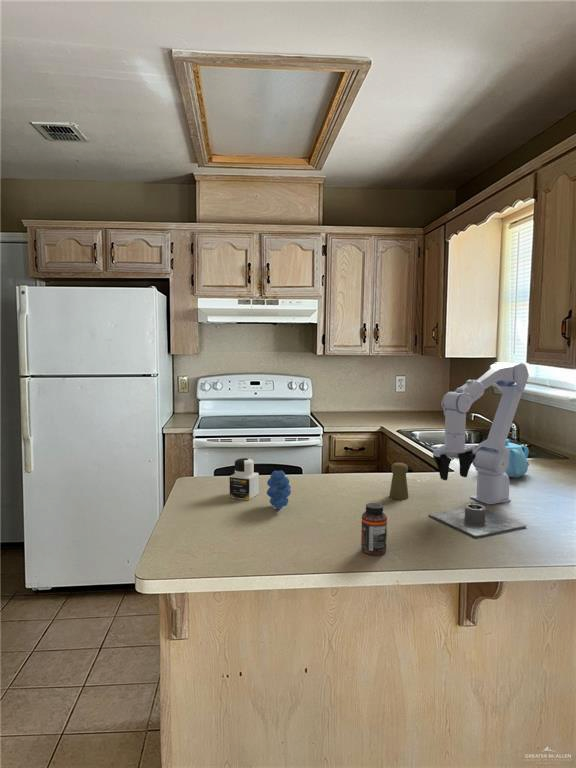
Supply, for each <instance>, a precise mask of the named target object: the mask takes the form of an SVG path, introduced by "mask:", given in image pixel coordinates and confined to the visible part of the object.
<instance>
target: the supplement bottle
mask: <svg viewBox="0 0 576 768" xmlns="http://www.w3.org/2000/svg"><path fill="white" fill-rule="evenodd" d="M383 511H384V505H383V504H382V503H379V502H368V503H366V504H365V511H364V512H363V513H362V515H361V539H360V540H361V541H360V545H361V547H360V548H361V551H362V552H364V554H367V555H370V556H381V555H384V554H385V553H386V552H387V539H388V537H387V534H388V516H387V515H386V513H384V512H383Z"/></svg>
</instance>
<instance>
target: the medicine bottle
mask: <svg viewBox="0 0 576 768" xmlns="http://www.w3.org/2000/svg"><path fill="white" fill-rule="evenodd" d="M254 463H255V462H254V460H253V459H251V458H248V457H247V458H246V457H245V458H244V457H243V458H238V459H236V460H235V461H234V473H233V474H231V475H229V498H230V497H232V498H231V499H236V498H238V500H244V499H246V500H245V501H250V500H252V499H253V498H255V497H256V496H258V495H259V494H260V490H259V489H260V485H259V484H260V483H259V482H260V481H259V478H260V477H259V476H260V474H259V472H254V470H255V469H254V467H255V465H254ZM257 494H258V495H257ZM254 496H255V497H254ZM251 498H252V499H251Z"/></svg>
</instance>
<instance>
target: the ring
mask: <svg viewBox="0 0 576 768" xmlns="http://www.w3.org/2000/svg"><path fill="white" fill-rule="evenodd" d="M464 508H465V520H468V521H470V522H477V523H481V522H484V521H485V512H486V510H487V509H486V507H485V505H482V504H479V503H467V504H465V505H464Z"/></svg>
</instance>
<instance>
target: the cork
mask: <svg viewBox="0 0 576 768" xmlns="http://www.w3.org/2000/svg"><path fill="white" fill-rule="evenodd" d="M390 468H391V469H390V470H391V473H392V477H391V484H390V490H389V496H388V497H389V498H390V499H392V498H393V499H392V500H396V499H397V500H398V501H404V499H405V500H408V499H409V498H408V497H410V496H409V490H408V489H409V488H408V481H407V473H408V470H409V467H408V464H406V463H403V462H395V463H393V464H392V465H391V467H390Z"/></svg>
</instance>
